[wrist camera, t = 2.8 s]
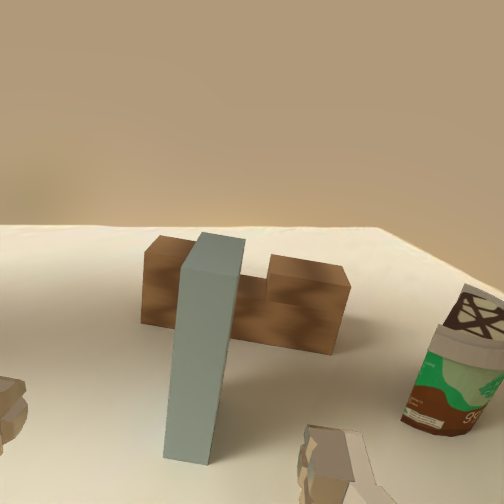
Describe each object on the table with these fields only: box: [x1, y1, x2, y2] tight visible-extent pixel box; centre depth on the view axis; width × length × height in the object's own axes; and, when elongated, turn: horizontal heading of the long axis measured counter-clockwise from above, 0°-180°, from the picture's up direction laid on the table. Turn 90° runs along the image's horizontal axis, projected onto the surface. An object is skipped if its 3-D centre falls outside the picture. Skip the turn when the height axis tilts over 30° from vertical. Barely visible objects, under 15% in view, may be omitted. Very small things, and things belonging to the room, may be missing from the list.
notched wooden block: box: [141, 235, 351, 355], centre depth 39 cm, size 20×5×8 cm, turn 86°
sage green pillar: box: [163, 232, 246, 465], centre depth 24 cm, size 3×6×14 cm, turn 176°
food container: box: [400, 284, 504, 437], centre depth 31 cm, size 12×6×10 cm, turn 141°
